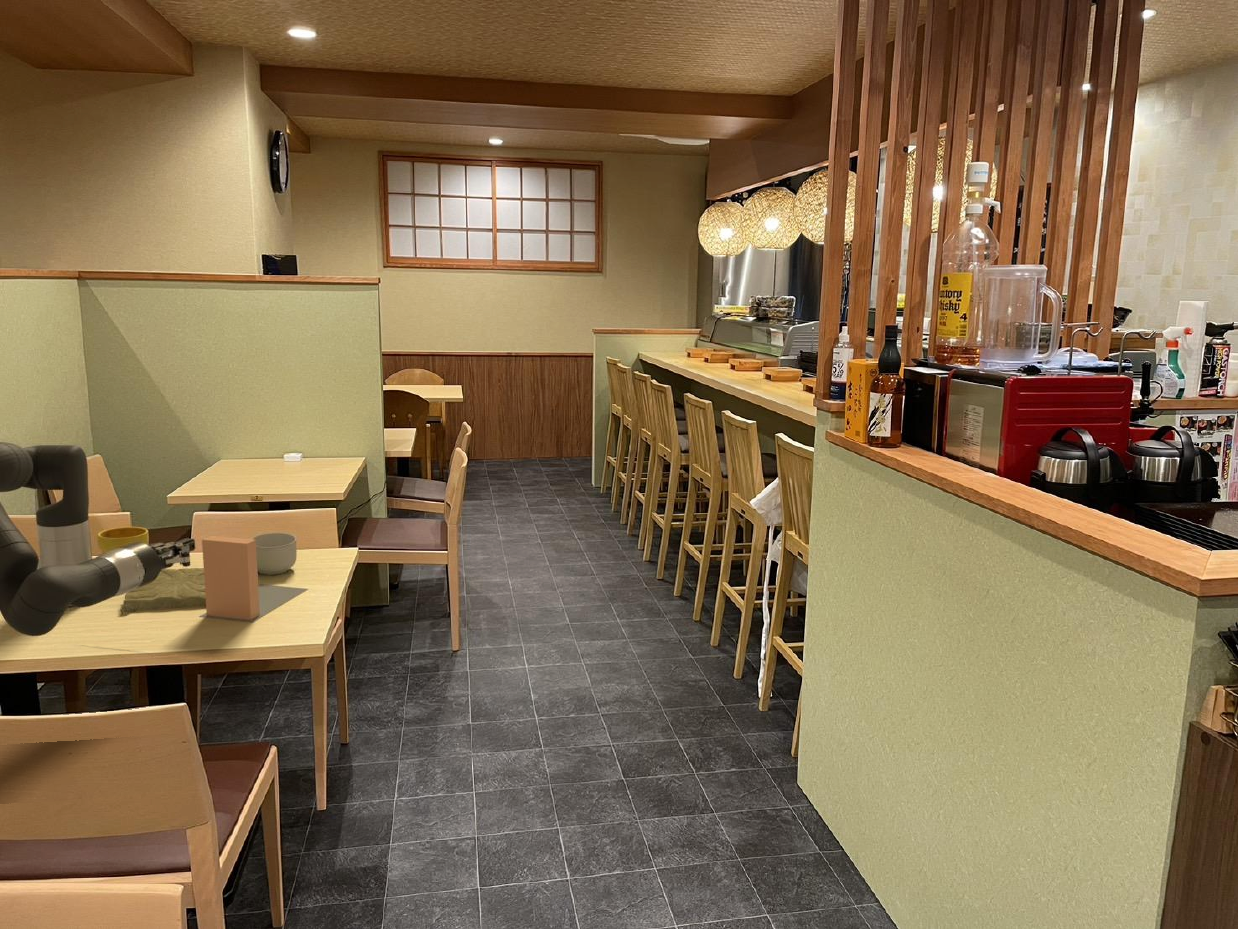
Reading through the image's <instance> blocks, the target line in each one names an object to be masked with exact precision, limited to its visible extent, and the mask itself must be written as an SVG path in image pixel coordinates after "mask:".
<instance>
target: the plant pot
mask: <svg viewBox="0 0 1238 929" xmlns="http://www.w3.org/2000/svg"><path fill="white" fill-rule="evenodd" d="M96 538H97V547H98V549H99V550H100V551H101V552H102V554H103V553H106V552H109V551H112V550H114V549H117V548H120V547H123V546H126V545H129V544H132V543H136V542H140V543H145V544H150V543H149V540H150V539H149V538H150V537H149V530H148V529H147V528H146V527H140V526H118V527H113V528H108V529H105V530H104V529H103V530H102V531H100V532H98V533H97V537H96Z"/></svg>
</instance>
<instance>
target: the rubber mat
mask: <svg viewBox="0 0 1238 929" xmlns="http://www.w3.org/2000/svg"><path fill="white" fill-rule="evenodd" d="M308 590H309V589H308V588H302V587H291V586H283V585H275V584H274V585H273V584H272V585H271V584H263V583H258V591H259V610H260V615H259V616H257V617H256V618H254V619H252V620H244V619H235V618H226V617H217V616H208V615H207V612H205V613H203V614H201V615H199V618H205V619H206V618H207V619H215V620H216V619H218V620H225V621H233V622H241V623H243V622H244V623H251V624H252V623H253V624H254V623H255V622H257V621H258V620H260V619H261V618H263V617H265V616H266V615H268V614H270V613H272V612H274V611H275V610H276V609H278V608H280V607H281V606H283V605H284V604H286V603H288V602H289V601H291V600H293V599H294V598H296V597H298V596H300V595H301V594H303V593H305V592H306V591H308Z"/></svg>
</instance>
